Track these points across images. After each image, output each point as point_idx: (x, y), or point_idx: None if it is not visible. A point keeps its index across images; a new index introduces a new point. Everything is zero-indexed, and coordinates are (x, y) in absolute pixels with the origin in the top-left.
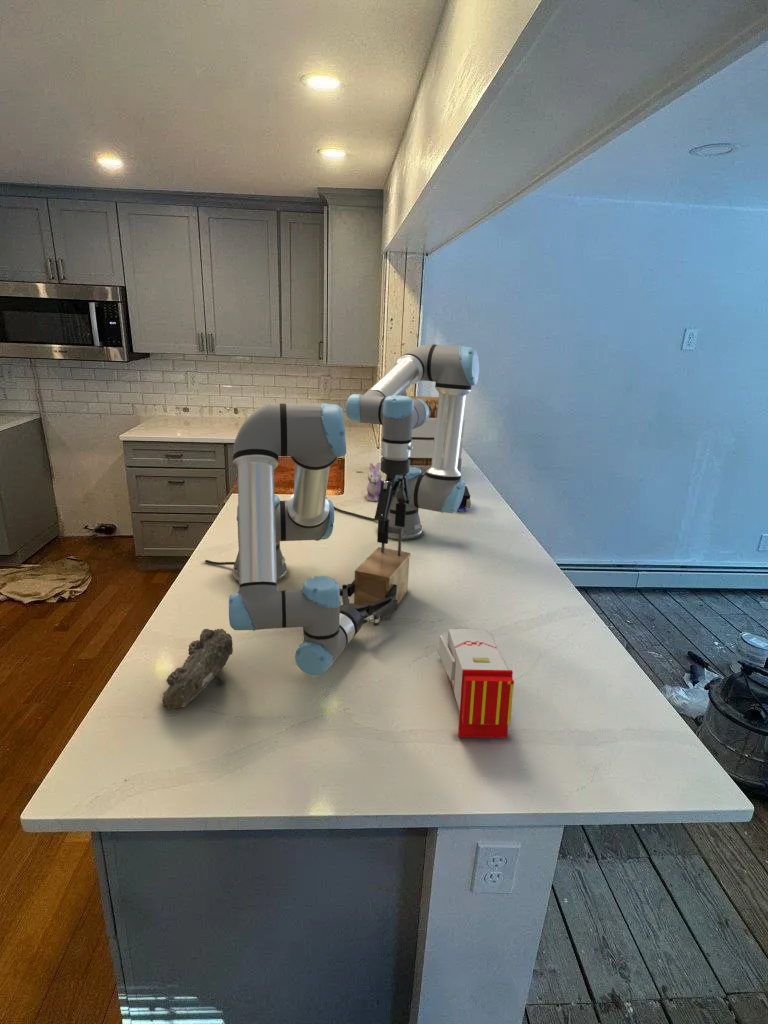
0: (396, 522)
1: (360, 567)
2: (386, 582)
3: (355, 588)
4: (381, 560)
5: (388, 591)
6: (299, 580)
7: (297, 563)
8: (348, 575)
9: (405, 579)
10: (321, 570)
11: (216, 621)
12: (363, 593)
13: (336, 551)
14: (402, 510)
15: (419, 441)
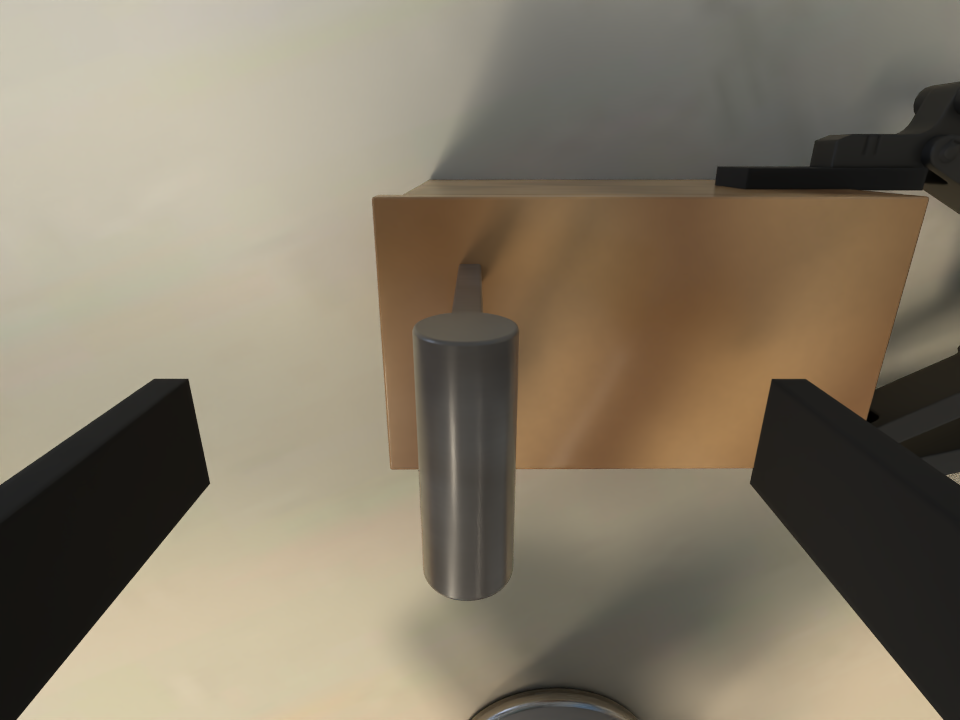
0: (183, 492)
1: None
2: None
3: None
4: (627, 366)
5: (865, 188)
6: (541, 637)
7: (405, 699)
8: (404, 501)
9: (481, 185)
10: (416, 607)
11: (912, 710)
12: None
13: (206, 630)
14: (25, 557)
15: None
